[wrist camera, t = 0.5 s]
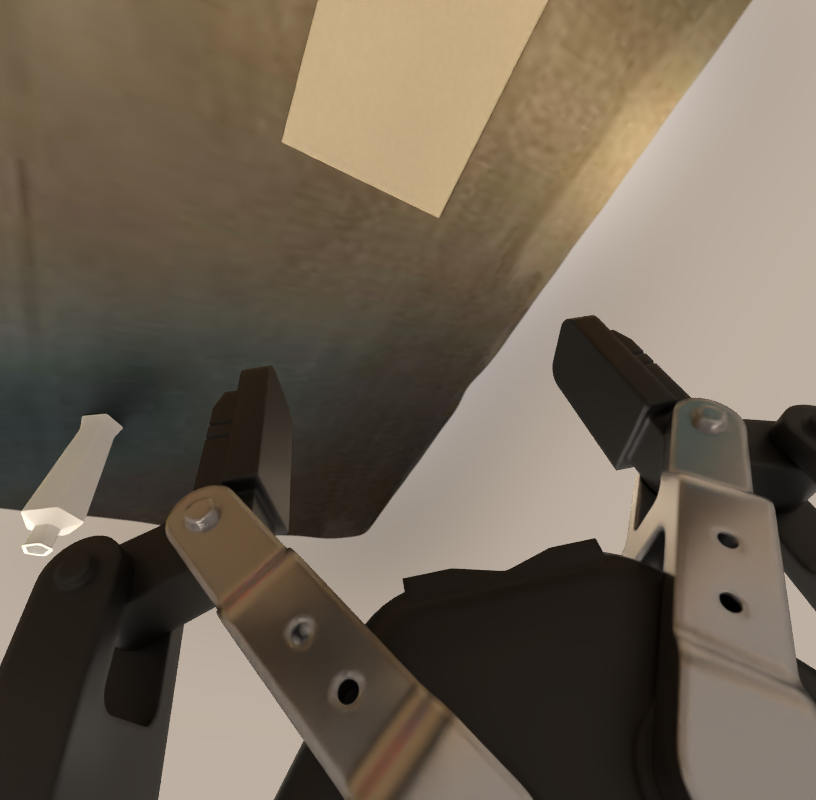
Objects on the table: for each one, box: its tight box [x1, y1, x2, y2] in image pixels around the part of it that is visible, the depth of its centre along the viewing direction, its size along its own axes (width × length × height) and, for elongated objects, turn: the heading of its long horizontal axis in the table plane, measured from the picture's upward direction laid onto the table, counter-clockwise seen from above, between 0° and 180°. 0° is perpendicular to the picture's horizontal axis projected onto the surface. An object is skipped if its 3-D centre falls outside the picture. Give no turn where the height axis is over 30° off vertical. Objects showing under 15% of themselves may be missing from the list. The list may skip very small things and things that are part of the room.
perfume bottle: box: [21, 414, 123, 556], centre depth 40 cm, size 5×4×15 cm
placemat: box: [282, 0, 548, 218], centre depth 28 cm, size 20×14×1 cm
